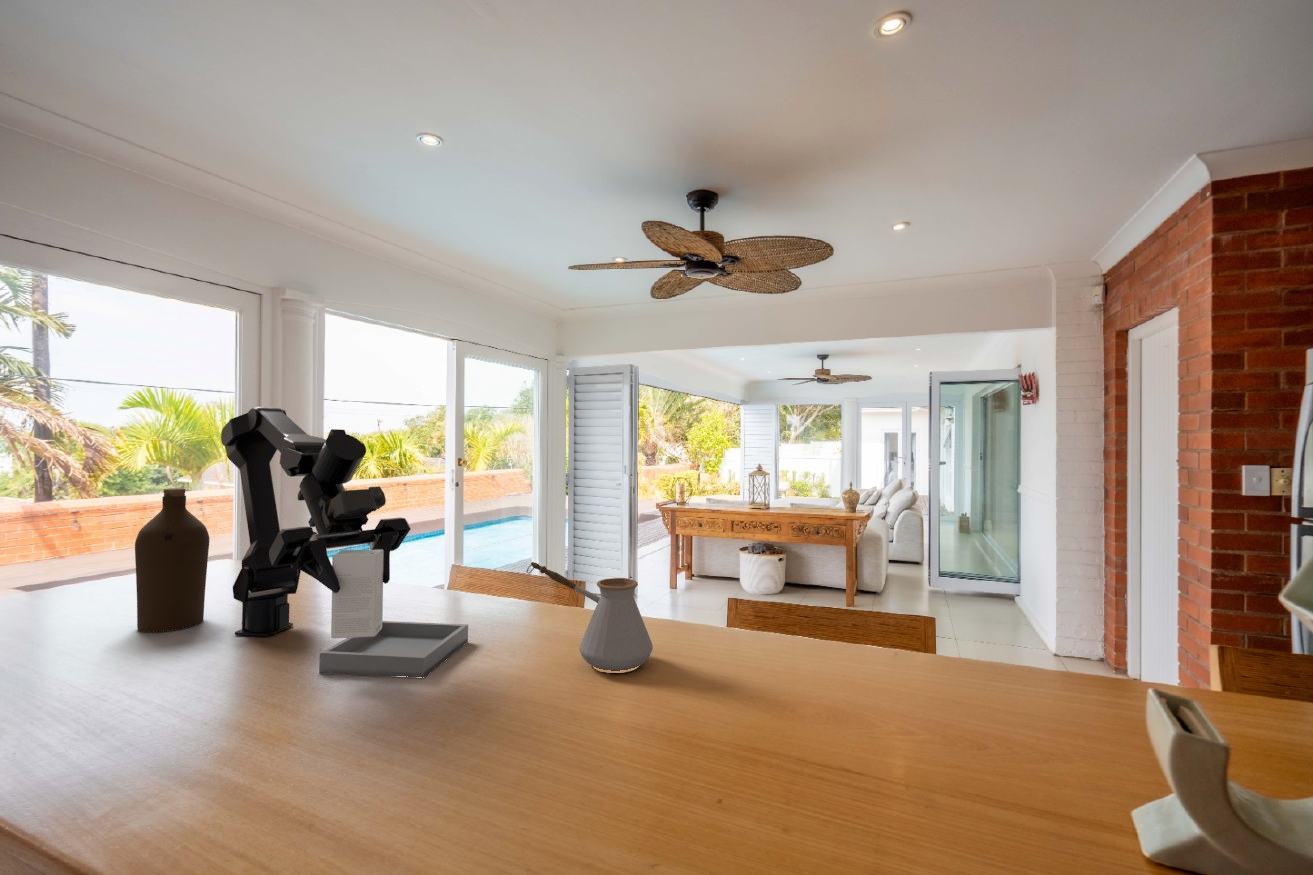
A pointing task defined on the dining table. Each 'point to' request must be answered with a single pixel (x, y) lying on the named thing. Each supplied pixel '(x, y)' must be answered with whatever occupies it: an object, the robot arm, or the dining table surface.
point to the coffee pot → (611, 624)
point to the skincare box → (357, 594)
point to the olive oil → (171, 567)
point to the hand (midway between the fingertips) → (363, 586)
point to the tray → (395, 650)
